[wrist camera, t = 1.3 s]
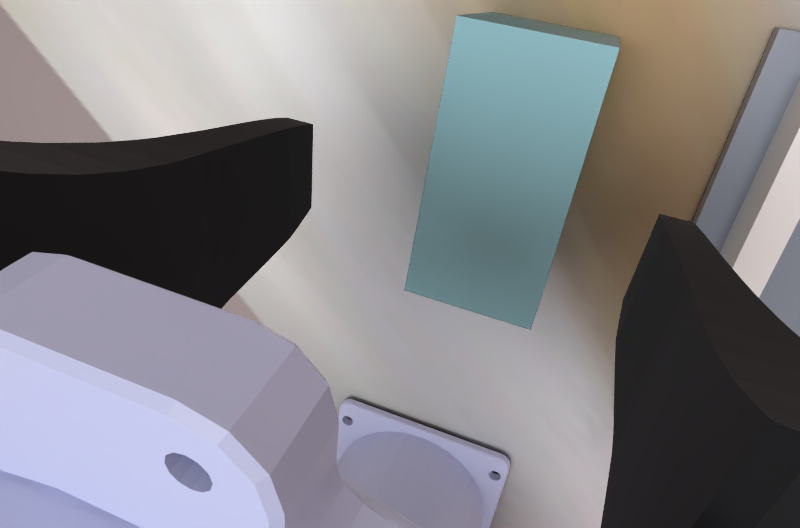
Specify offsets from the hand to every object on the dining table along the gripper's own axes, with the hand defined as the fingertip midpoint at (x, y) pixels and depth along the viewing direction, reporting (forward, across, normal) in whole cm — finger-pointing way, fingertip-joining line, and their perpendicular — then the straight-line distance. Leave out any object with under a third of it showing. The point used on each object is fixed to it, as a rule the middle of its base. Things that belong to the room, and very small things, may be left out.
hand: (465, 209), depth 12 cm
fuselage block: (+9, 0, +2) cm, 9 cm away
